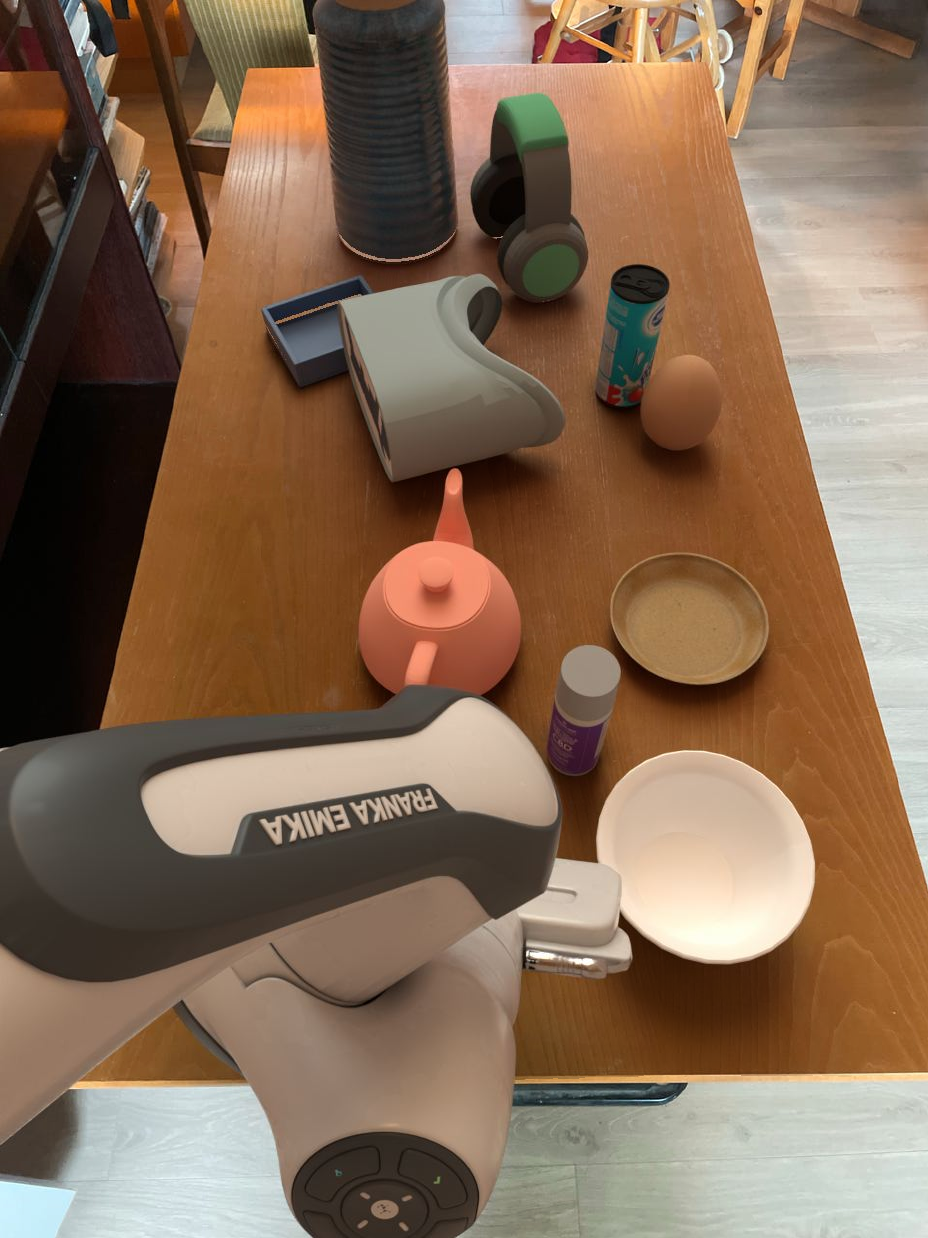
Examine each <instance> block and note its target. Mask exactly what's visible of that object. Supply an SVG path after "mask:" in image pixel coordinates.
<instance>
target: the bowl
mask: <svg viewBox="0 0 928 1238" xmlns="http://www.w3.org/2000/svg"><path fill="white" fill-rule="evenodd" d="M602 806H603V807H602V809H601V811H600V813H599V814H600V815H599V818H598V821H597V823H598V824H597V828H596V829H597V830H596V834H595V835H596V836H595V843H596V845H595V846H596V860H597V863H600V864H605V865H607V866H609V867H610V868H612V869H613V870H615V871H616V872H617V873H618V874H619V875H620V876H621V880H622V895H621V904H620V912H619V913H620V914H621V915H622V916H623V918H624V919H625V920H626V921H627V922H628V923H629V924H630V925H631V926H632V927H633V928H634V929H635V930H636V931H637V932H638V933H639V934H640V935H641V936H642V937H644V938H645V939H646V940H648V941H649V942H651V943H653V944H654V945H656V946H657V947H658V948H660V949H661V950H664V951H666V952H669V953H670V954H673V955H674V956H677V957H679V958H682V959H684V960H689V961H693V962H697V963H701V964H707V965H708V964H710V965H732V964H738V963H743V962H749V961H752V960H754V959H756V958H757V959H758V958H759V957H762V956H764V955H766V954H768V953H771V952H772V951H773V950H775V949H776V948H778V947H779V946H780V945H782V944H783V943H785V942H786V941H788V939H789V938H790V937H791V936H792V935H793V933H794V932H795V930H796V929H797V928H798V927H799V926H800V925H801V923H802V921H803V919H804V917H805V915H806V913H807V912H808V909H809V907H810V905H811V901H812V896H813V893H814V892H813V891H814V887H815V880H816V879H815V878H816V862H815V861H816V860H815V856H814V855H815V854H814V850H813V845H812V841H811V838H810V836H809V833H808V831H807V828H806V826H805V823H804V820H803V819H802V817H801V815H800V814H799V813H798V811H797V809H796V807H795V806H794V804H793V803H792V802H791V800H790V799H789V798H788V797H787V796H786V795H785V793H784V792H783V791H782V790H781V788H779V787H778V786H777V785H776V784H775V783H774V782H773V781H771V780H770V779H769V778H768V777H767V776H765V775H764V774H763V773H761V772H760V771H758V770H757V769H755V768H753V767H752V766H750V765H748V764H747V763H745V762H743V761H740V760H738V759H736V758H732V757H730V756H727V755H725V754H721V753H716V752H711V751H705V750H679V751H678V750H677V751H671V752H665V753H662V754H659V755H657V756H654V757H651V758H649V759H646V760H644V761H643V762H641V763H640V764H638V765H636V766H635V767H633V768H631V769H630V770H628V772H627V773H626V774H624V776H622V777H621V778H620V780H618V782H616V784H615V785H614V787H613V788H612V790H611V791H610V793H609V795H608V796H607V797H606V799H605V801H604V805H602Z"/></svg>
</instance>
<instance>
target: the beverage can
mask: <svg viewBox="0 0 928 1238" xmlns="http://www.w3.org/2000/svg"><path fill="white" fill-rule="evenodd" d="M670 284H671V283H670V279H669V278H668V275H666V274H665V273H664V272H663V271H662V270H660V269H659V268H657V267H654V266H651V265H648V264H641V263H635V264H633V263H632V264H627V265H625V266H622V267H620V268H618V269H617V270H615V272H614V273H612V276H611V279H610V287H609V292H608V298H607V306H606V310H605V311H606V313H605V318H604V325H603V330H602V331H603V332H602V339H601V345H600V353H599V359H598V366H597V375H596V380H595V386H594V387H595V392H596V395H597V397H598V398H599V400H600V401H601V402H602V403H603V404H604V405H606V406H608V407H611V408H613V409H624V410H625V409H631V408H634V407H635V406H638V404H641V401H642V397H643V393H644V390H645V388H646V385H647V384H648V382H649V381H650V379H651V373H652V368H653V364H654V361H655V360H654V359H655V355H656V351H657V346H658V342H659V338H660V333H661V328H662V323H663V318H664V314H665V309H666V304H667V300H668V295H669V291H670Z"/></svg>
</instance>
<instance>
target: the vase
mask: <svg viewBox="0 0 928 1238" xmlns="http://www.w3.org/2000/svg"><path fill="white" fill-rule="evenodd" d="M312 18H313V24H314V32H315V40H316V49H317V59H318V68H319V78H320V88H321V96H322V104H323V105H322V106H323V115H324V121H325V122H324V123H325V132H326V140H327V141H326V142H327V149H328V151H327V152H328V165H329V173H330V174H329V175H330V182H331V193H332V196H333V197H332V198H333V199H332V201H333V209H334V218H335V227H336V226H337V229H336V231H337V230H338V232H339V234H340V235H341V236H342V238H343V239H344V240H345V241H346V242H347V243H348V244H349V245H350V246H351V247H353V248H355V249H356V250H358V251H360V252H362V253H365V254H368V255H371V256H375V257H377V258H385V259H402V258H408V257H415V256H419V255H422V254H426V253H428V252H430V251H432V250H434V249H436V248H437V247H439V246H440V245H442V244H443V243H444V242H446V241H447V240H448V239H449V238H450V237H451V236H452V235H453V233H454V232H455V230H456V227H457V228H458V225H459V215H458V197H457V188H456V187H457V180H456V164H455V149H454V140H453V125H452V124H453V123H452V109H451V106H452V105H451V93H450V91H451V90H450V74H449V63H448V62H449V58H448V57H449V55H448V43H447V42H448V40H447V39H448V38H447V24H446V3H445V1H444V0H316V2H315V3H314V5H313V8H312ZM457 224H458V225H457ZM456 231H457V230H456ZM338 232H337V233H338ZM455 233H456V232H455ZM451 241H452V239H451V240H450V241H449V242H448V243H447V244H446V245H445V246H444V247H443V248H441V249H440V250H438V251H436V252H434V253H432V254H430V255H428V256H425V257H422V258H419V259H415V260H409V261H401V262H386V261H378V260H373V259H369V258H366V257H363V256H361V255H358V254H356V253H355V252H353V251H351V252H352V253H353V254H355V255H357V256H358V257H360V258H362V259H364V260H367V261H369V262H373V263H376V264H377V263H378V264H384V265H406V264H412V263H417V262H421V261H424V260H425V259H428V258H430V257H432V256H434V255H436V254H437V253H439V252H441V251H442V250H443V249H444V248H445V247H446V246H447V245H448V244H450V242H451Z"/></svg>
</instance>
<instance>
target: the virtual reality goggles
mask: <svg viewBox="0 0 928 1238" xmlns="http://www.w3.org/2000/svg"><path fill="white" fill-rule="evenodd" d="M337 309H338V319H339V326H340V332H341V338H342V343H343V348H344V352H345V356H346V360H347V364H348V368H349V370H348V371H349V375H350V379H351V381H352V386H353V388H354V391H355V394H356V397H357V400H358V403H359V405H360V409H361V411H362V414H363V417H364V419H365V422H366V425H367V427H368V431H369V433H370V436H371V439H372V441H373V444H374V447H375V449H376V452H377V454H378V457H379V459H380V462H381V464H382V467H383V469H384V471H385V473H386V475H387V478H388V479H389V481H390V482H391V483H396V482H399V481H404V480H408V479H411V478H415V477H419V476H422V475H426V474H430V473H433V472H438V471H441V470H445V469H449V468H454V467H458V466H461V465H466V464H470V463H473V462H474V463H475V462H478V461H483V460H485V459H489V458H493V457H494V458H495V457H497V456H501V455H504V454H507V453H508V454H509V453H510V452H514V451H518V450H520V449H524V448H525V449H526V448H535V447H536V448H537V447H542V446H545V445H549V444H552V443H554V442H555V441H557V440H558V439H559V438H560V437H561V435H562V433H563V431H564V428H565V426H566V415H565V412H564V409H563V407H562V404H561V403H560V401H559V400H558V398H557V397H556V396H555V395H554V393H553V392H552V391H551V390H550V389H549V388H548V387H547V386H546V385H545V384H544V383H543V382H542V381H540V379H538V378H537V377H534V376H533V375H532V374H530V373H529V372H527V371H525V370H523V369H522V368H520V367H519V366H516V365H514V364H513V363H511V362H509V361H507V360H506V359H503V358H502V357H500V356H498V355H497V354H495V353H493V352H491V351H490V350H488V348H486V347H485V345H486V343H487V342H488V340H489V339H490V337H491V336H492V334H493V332H494V330H495V328H496V327H497V325H498V323H499V321H500V318H501V315H502V311H503V298H502V295H501V293H500V291H499V289H498V287H497V285H496V283H494V282H493V281H492V280H491V279H490V278H489V277H488V276H486V275H484V274H482V273H474V274H471V275H469V276H463V275H454V276H448V277H444V278H442V279H438V280H435V281H430V282H423V283H418V284H413V285H408V286H403V287H402V286H401V287H397V288H393V289H387V290H383V291H379V292H374V294H369V295H364V296H360V297H355V298H350V299H346V300H342V301H338V306H337Z"/></svg>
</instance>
